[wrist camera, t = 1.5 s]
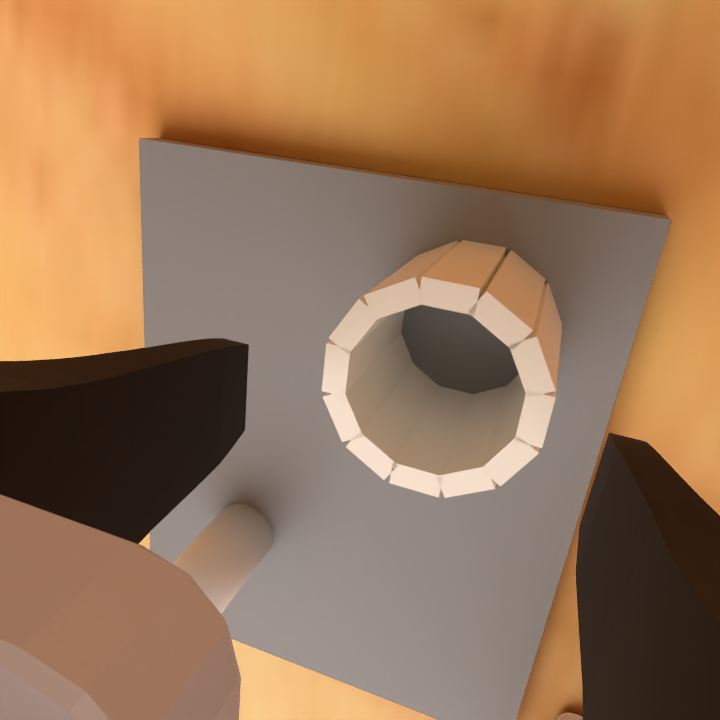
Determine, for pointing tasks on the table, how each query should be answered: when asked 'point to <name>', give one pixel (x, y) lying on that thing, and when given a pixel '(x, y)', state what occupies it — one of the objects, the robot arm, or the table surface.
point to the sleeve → (436, 403)
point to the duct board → (329, 454)
